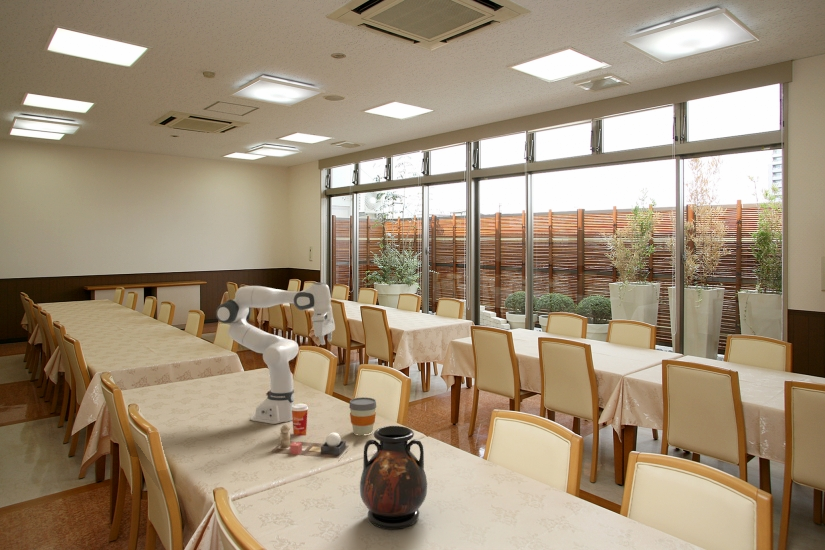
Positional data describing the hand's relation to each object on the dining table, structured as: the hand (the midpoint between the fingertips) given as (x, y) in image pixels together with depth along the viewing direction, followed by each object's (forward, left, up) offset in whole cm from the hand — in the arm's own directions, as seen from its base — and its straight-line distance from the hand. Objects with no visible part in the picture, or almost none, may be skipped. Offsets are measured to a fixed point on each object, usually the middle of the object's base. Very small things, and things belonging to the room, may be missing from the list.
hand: (326, 343), depth 263 cm
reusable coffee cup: (+22, -12, -40) cm, 47 cm away
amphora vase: (+54, -86, -40) cm, 109 cm away
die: (+3, -44, -38) cm, 58 cm away
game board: (+7, -40, -39) cm, 56 cm away
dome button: (+18, -40, -36) cm, 56 cm away
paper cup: (-5, -22, -40) cm, 45 cm away
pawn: (-4, -40, -38) cm, 55 cm away
